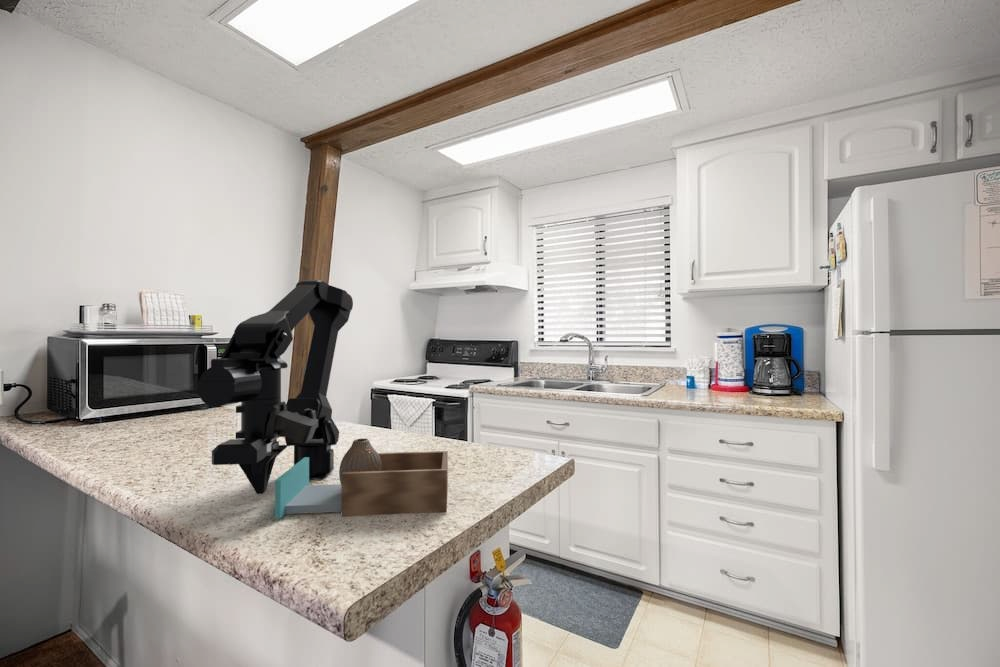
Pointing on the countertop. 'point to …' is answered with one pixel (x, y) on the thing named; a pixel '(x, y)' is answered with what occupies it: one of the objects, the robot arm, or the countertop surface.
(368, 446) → the vase
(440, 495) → the caddy
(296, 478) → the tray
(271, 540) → the countertop surface
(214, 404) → the robot arm
